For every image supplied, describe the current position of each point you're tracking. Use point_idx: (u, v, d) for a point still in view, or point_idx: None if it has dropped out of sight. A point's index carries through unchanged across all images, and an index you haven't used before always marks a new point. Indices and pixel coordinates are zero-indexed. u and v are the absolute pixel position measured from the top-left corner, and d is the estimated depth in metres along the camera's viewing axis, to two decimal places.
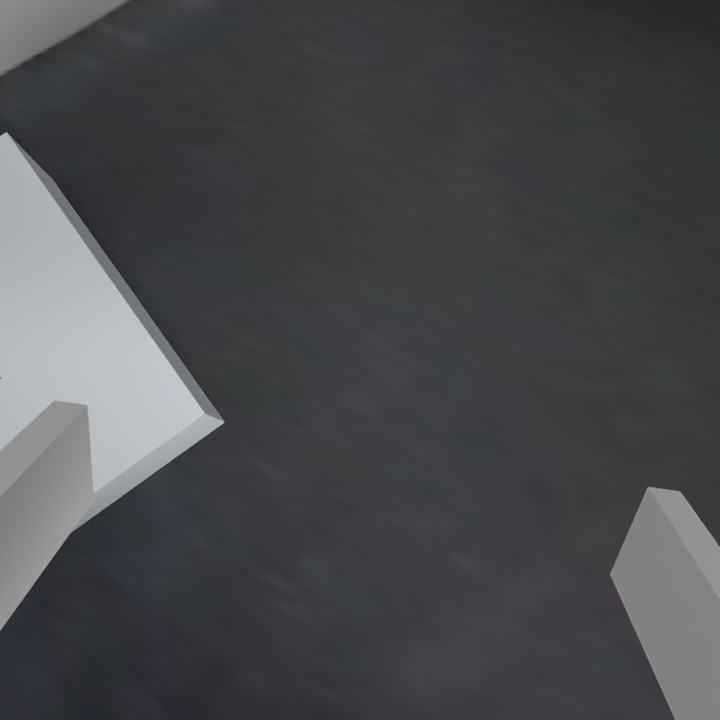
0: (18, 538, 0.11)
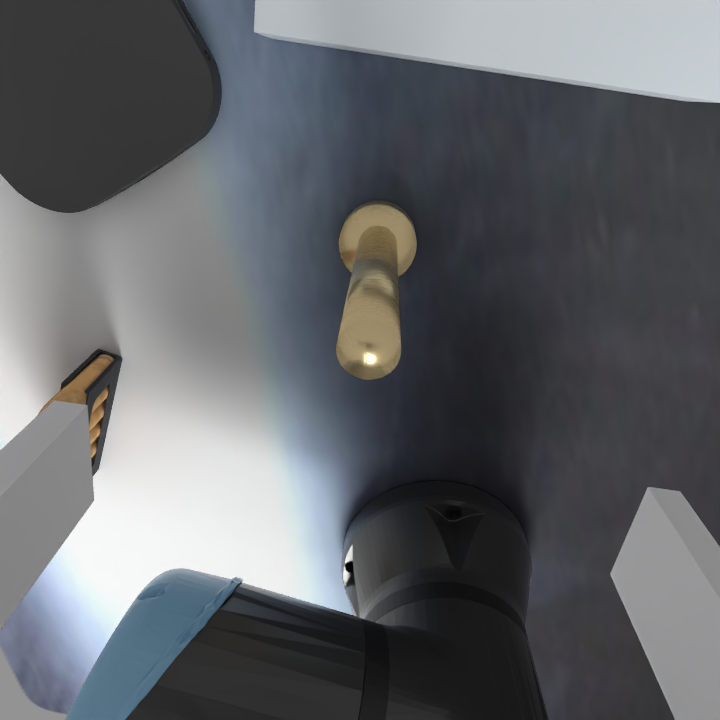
0: (18, 538, 0.11)
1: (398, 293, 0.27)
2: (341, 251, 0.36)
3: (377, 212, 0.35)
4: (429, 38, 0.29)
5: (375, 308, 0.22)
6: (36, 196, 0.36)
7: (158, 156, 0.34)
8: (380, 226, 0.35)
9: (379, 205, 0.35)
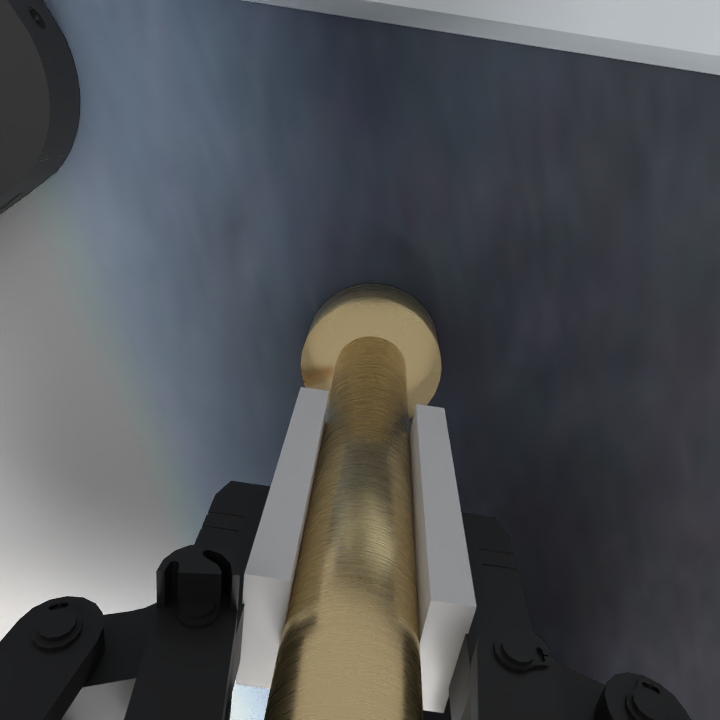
0: None
1: (416, 604, 0.11)
2: (305, 377, 0.20)
3: (370, 313, 0.19)
4: None
5: None
6: None
7: None
8: (375, 338, 0.19)
9: (374, 301, 0.19)
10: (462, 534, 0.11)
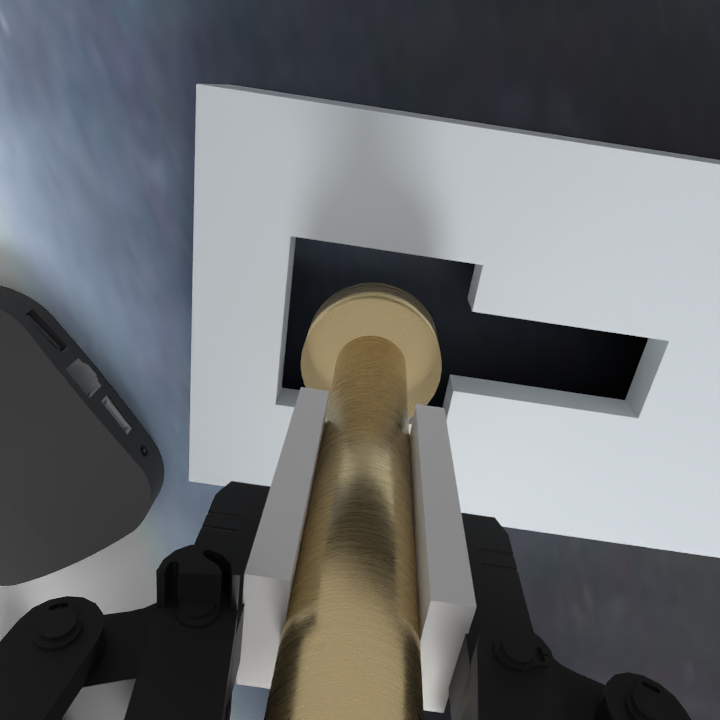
0: None
1: (417, 603, 0.10)
2: (305, 377, 0.20)
3: (370, 312, 0.19)
4: None
5: None
6: None
7: (92, 547, 0.31)
8: (375, 337, 0.19)
9: (374, 300, 0.19)
10: (462, 534, 0.11)
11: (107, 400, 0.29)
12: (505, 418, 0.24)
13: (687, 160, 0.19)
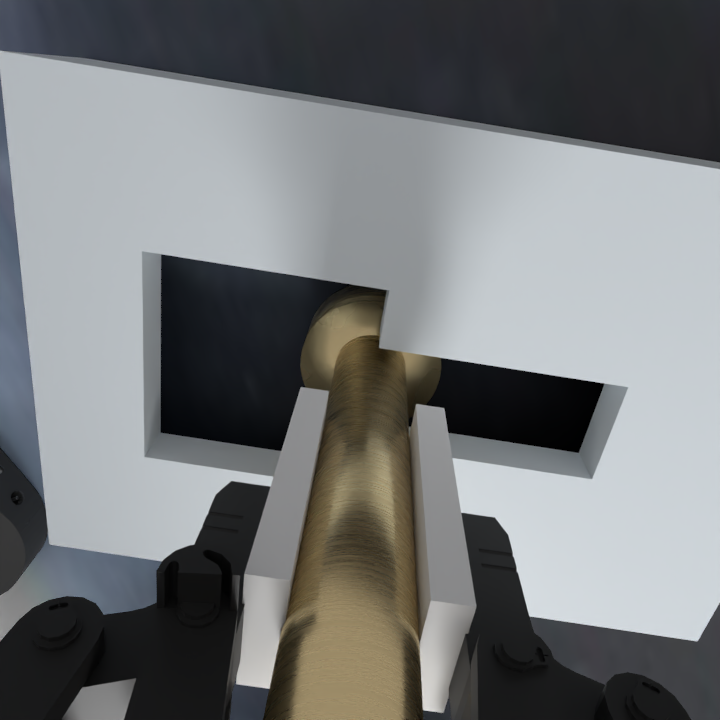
0: None
1: (416, 602, 0.10)
2: (305, 376, 0.20)
3: (370, 312, 0.19)
4: None
5: None
6: None
7: None
8: (375, 337, 0.19)
9: (373, 299, 0.19)
10: (462, 534, 0.11)
11: None
12: None
13: (647, 158, 0.15)
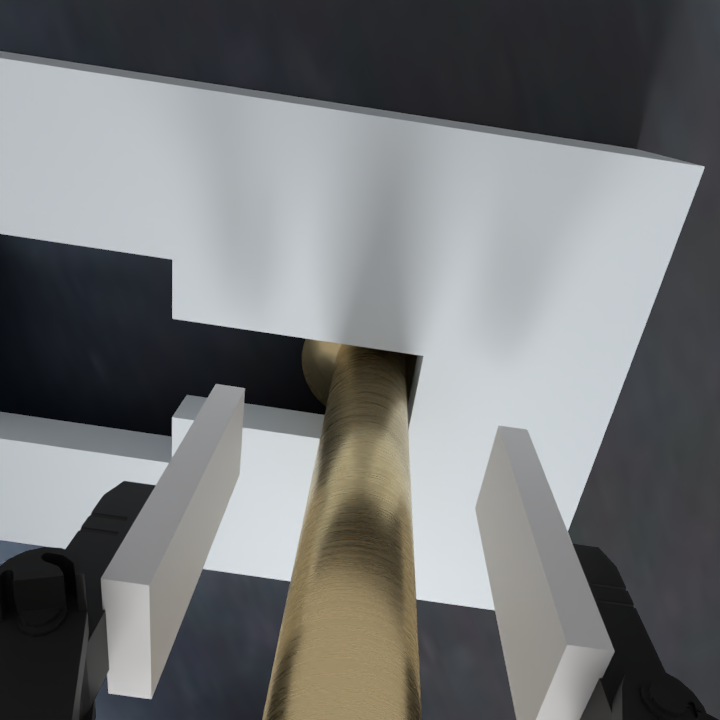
0: (211, 501, 0.13)
1: (414, 586, 0.11)
2: (306, 372, 0.21)
3: None
4: None
5: None
6: None
7: None
8: None
9: None
10: (578, 569, 0.11)
11: None
12: (242, 450, 0.19)
13: (402, 121, 0.15)
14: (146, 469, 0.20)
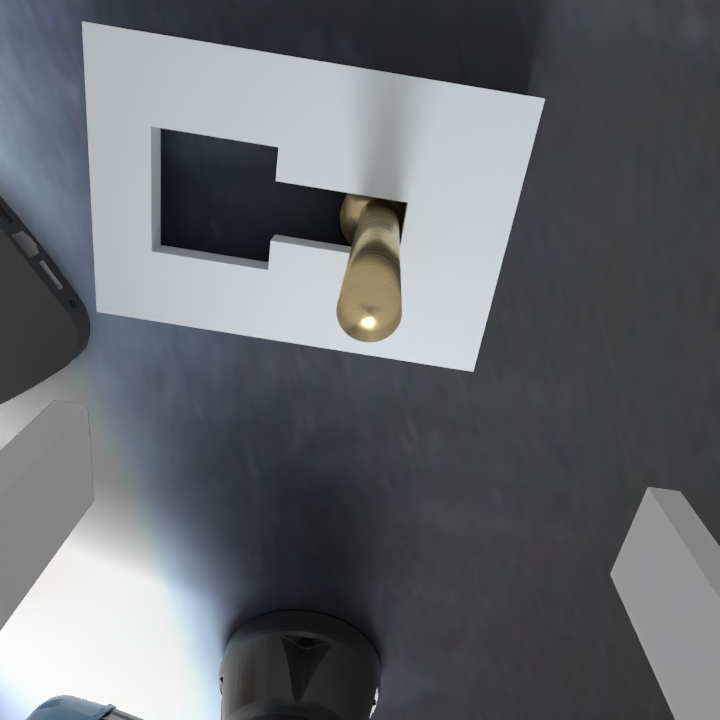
0: (18, 538, 0.11)
1: (399, 260, 0.26)
2: (342, 224, 0.36)
3: None
4: (235, 321, 0.37)
5: (376, 270, 0.22)
6: None
7: (36, 379, 0.42)
8: (382, 199, 0.35)
9: None
10: None
11: (44, 264, 0.40)
12: (308, 261, 0.35)
13: (397, 74, 0.30)
14: (253, 274, 0.35)
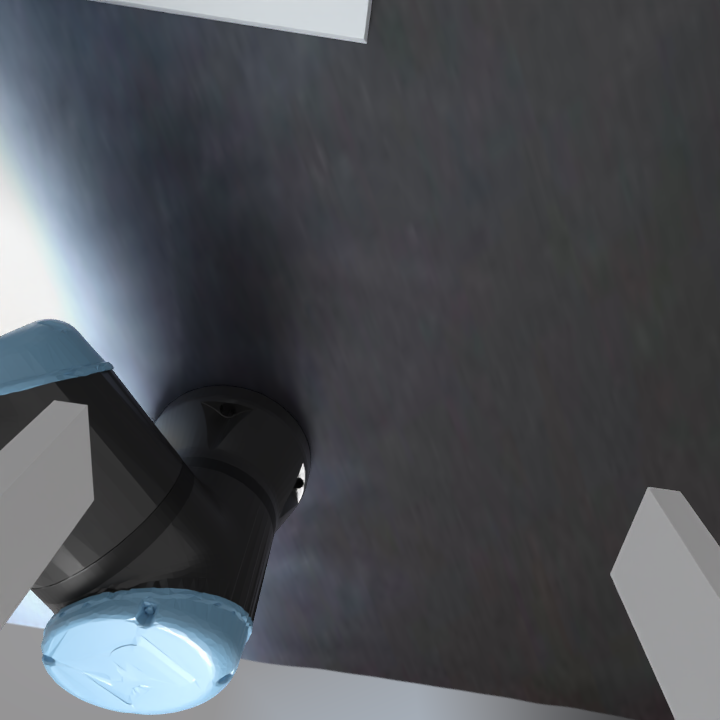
0: (18, 538, 0.11)
1: None
2: None
3: None
4: None
5: None
6: None
7: None
8: None
9: None
10: None
11: None
12: None
13: None
14: None
